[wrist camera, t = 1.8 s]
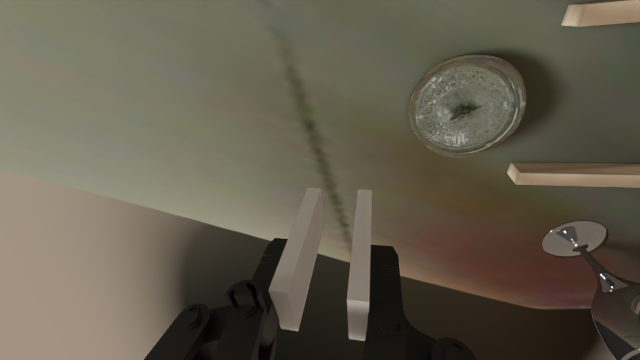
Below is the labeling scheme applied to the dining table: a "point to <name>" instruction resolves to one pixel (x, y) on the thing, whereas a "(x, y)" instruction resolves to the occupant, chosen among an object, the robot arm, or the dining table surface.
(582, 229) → the wine glass
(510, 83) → the lid
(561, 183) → the wooden u-shaped frame
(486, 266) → the dining table surface
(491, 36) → the dining table surface
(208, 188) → the dining table surface
